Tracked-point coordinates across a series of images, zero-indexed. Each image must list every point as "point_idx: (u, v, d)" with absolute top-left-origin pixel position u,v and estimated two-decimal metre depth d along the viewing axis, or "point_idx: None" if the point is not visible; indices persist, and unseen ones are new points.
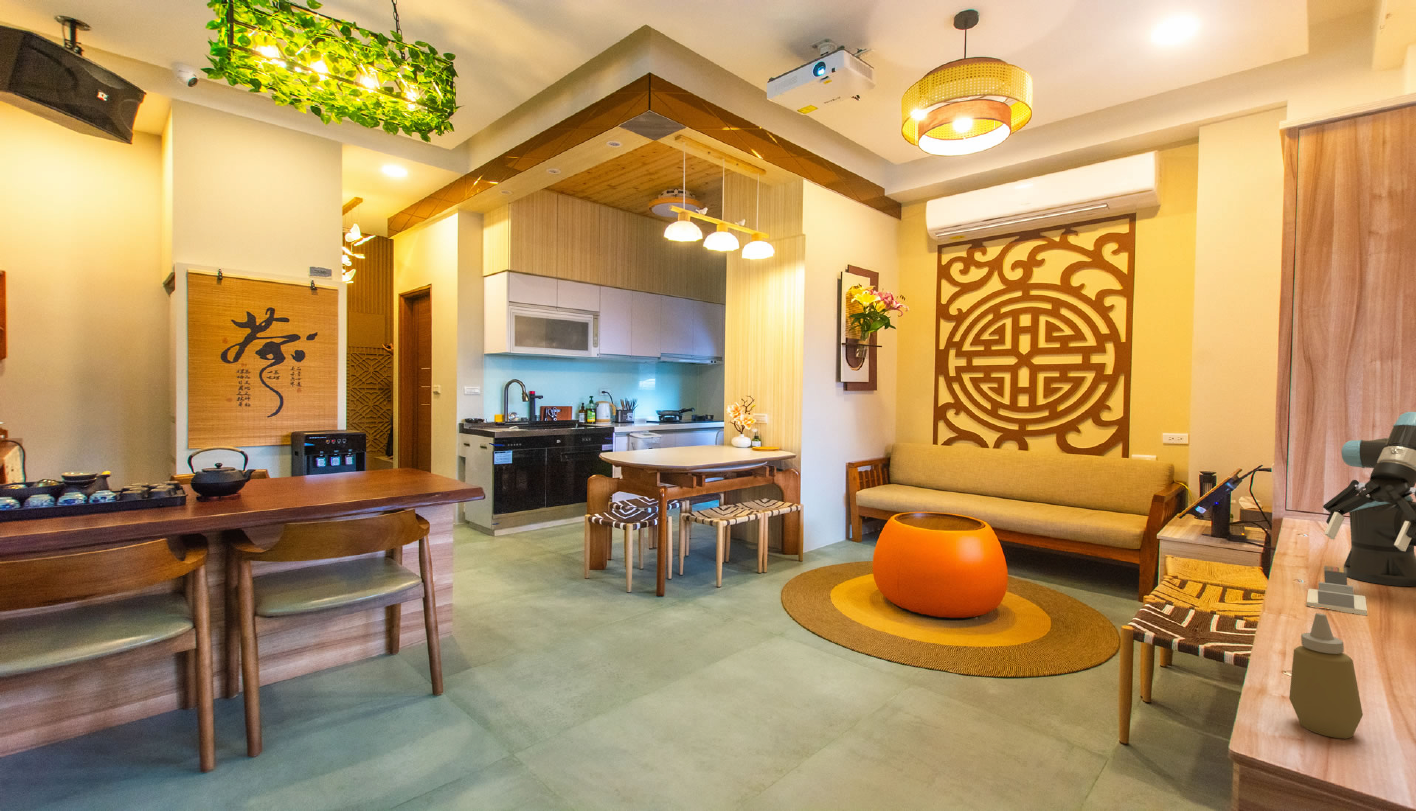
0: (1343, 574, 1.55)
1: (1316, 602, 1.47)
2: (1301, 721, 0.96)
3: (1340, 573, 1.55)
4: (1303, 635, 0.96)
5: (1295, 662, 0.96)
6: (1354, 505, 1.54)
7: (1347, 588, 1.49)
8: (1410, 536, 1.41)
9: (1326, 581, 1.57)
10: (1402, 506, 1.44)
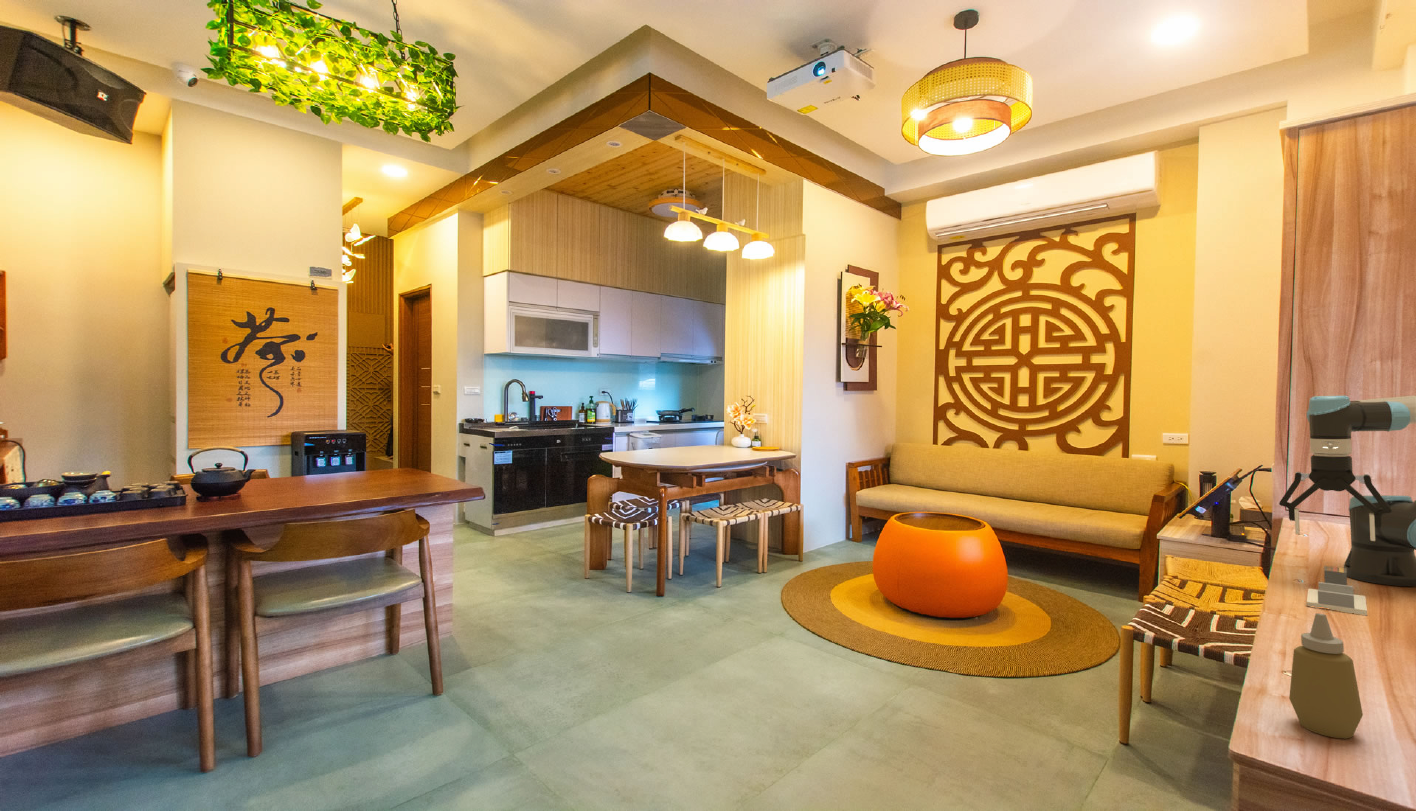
0: (1343, 574, 1.55)
1: (1316, 602, 1.47)
2: (1301, 721, 0.96)
3: (1340, 573, 1.55)
4: (1303, 635, 0.96)
5: (1295, 662, 0.96)
6: (1306, 497, 1.61)
7: (1347, 588, 1.49)
8: None
9: (1326, 581, 1.57)
10: (1359, 499, 1.54)
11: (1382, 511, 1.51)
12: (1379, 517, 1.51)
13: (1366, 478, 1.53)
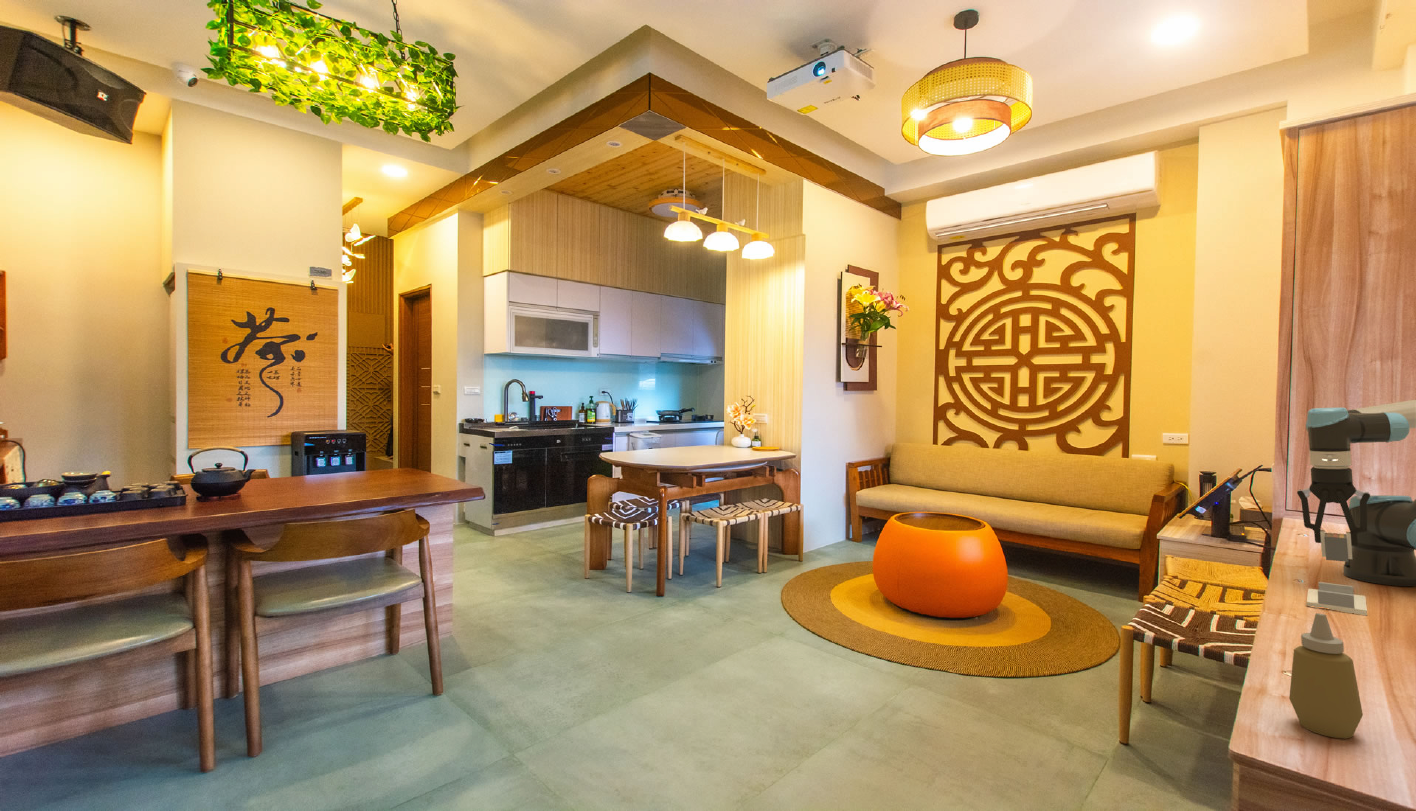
0: (1343, 539, 1.55)
1: (1316, 602, 1.47)
2: (1301, 721, 0.96)
3: (1340, 538, 1.55)
4: (1303, 635, 0.96)
5: (1295, 662, 0.96)
6: (1323, 514, 1.59)
7: (1347, 588, 1.49)
8: None
9: (1327, 547, 1.57)
10: (1346, 514, 1.55)
11: (1358, 530, 1.54)
12: (1355, 536, 1.55)
13: (1365, 496, 1.53)
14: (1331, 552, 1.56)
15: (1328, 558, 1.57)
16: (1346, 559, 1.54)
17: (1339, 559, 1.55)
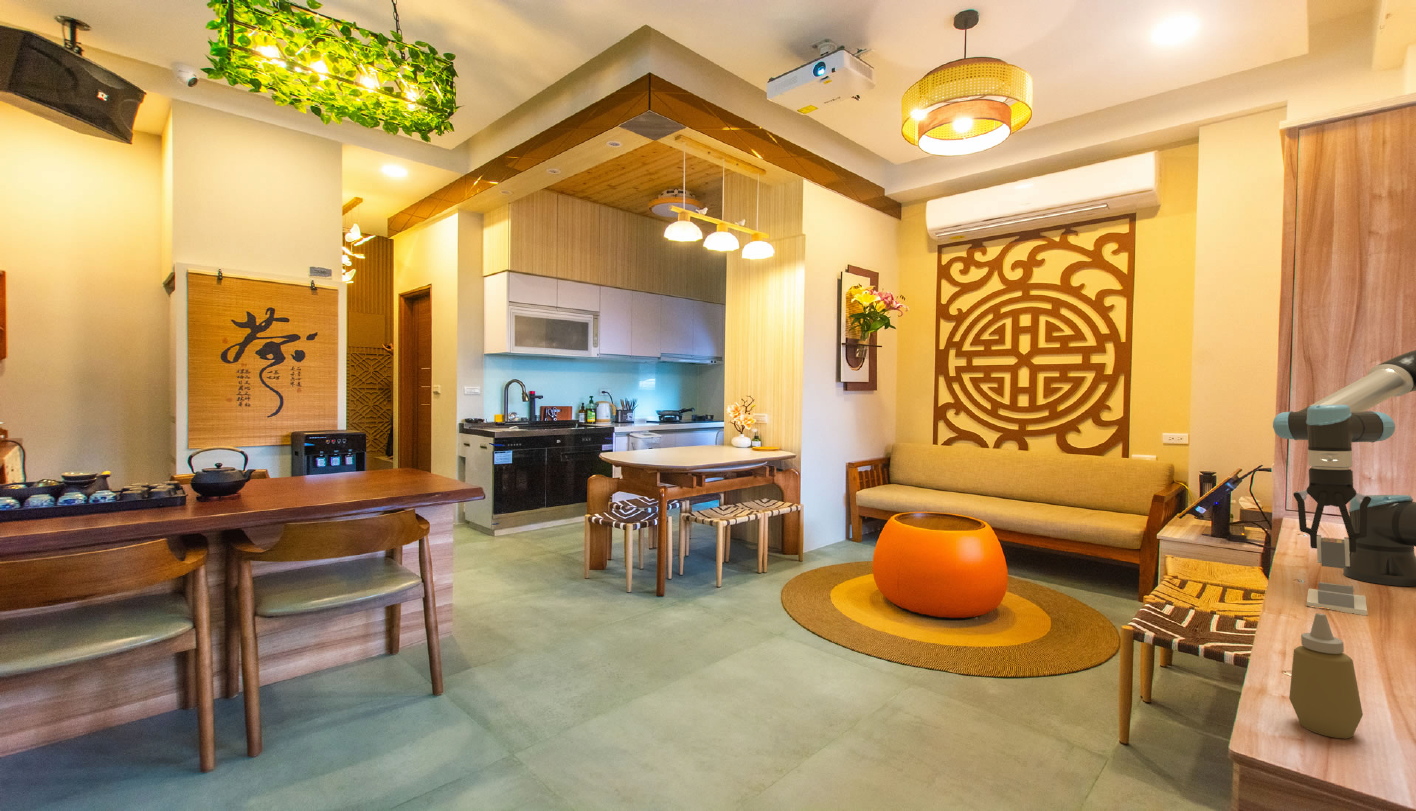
0: (1341, 544, 1.45)
1: (1316, 602, 1.47)
2: (1301, 721, 0.96)
3: (1338, 543, 1.45)
4: (1303, 635, 0.96)
5: (1295, 662, 0.96)
6: (1320, 518, 1.49)
7: (1347, 588, 1.49)
8: None
9: (1323, 552, 1.47)
10: (1344, 518, 1.46)
11: (1357, 535, 1.45)
12: (1354, 542, 1.45)
13: (1366, 499, 1.43)
14: (1328, 558, 1.46)
15: (1324, 564, 1.47)
16: (1343, 566, 1.45)
17: (1336, 565, 1.45)
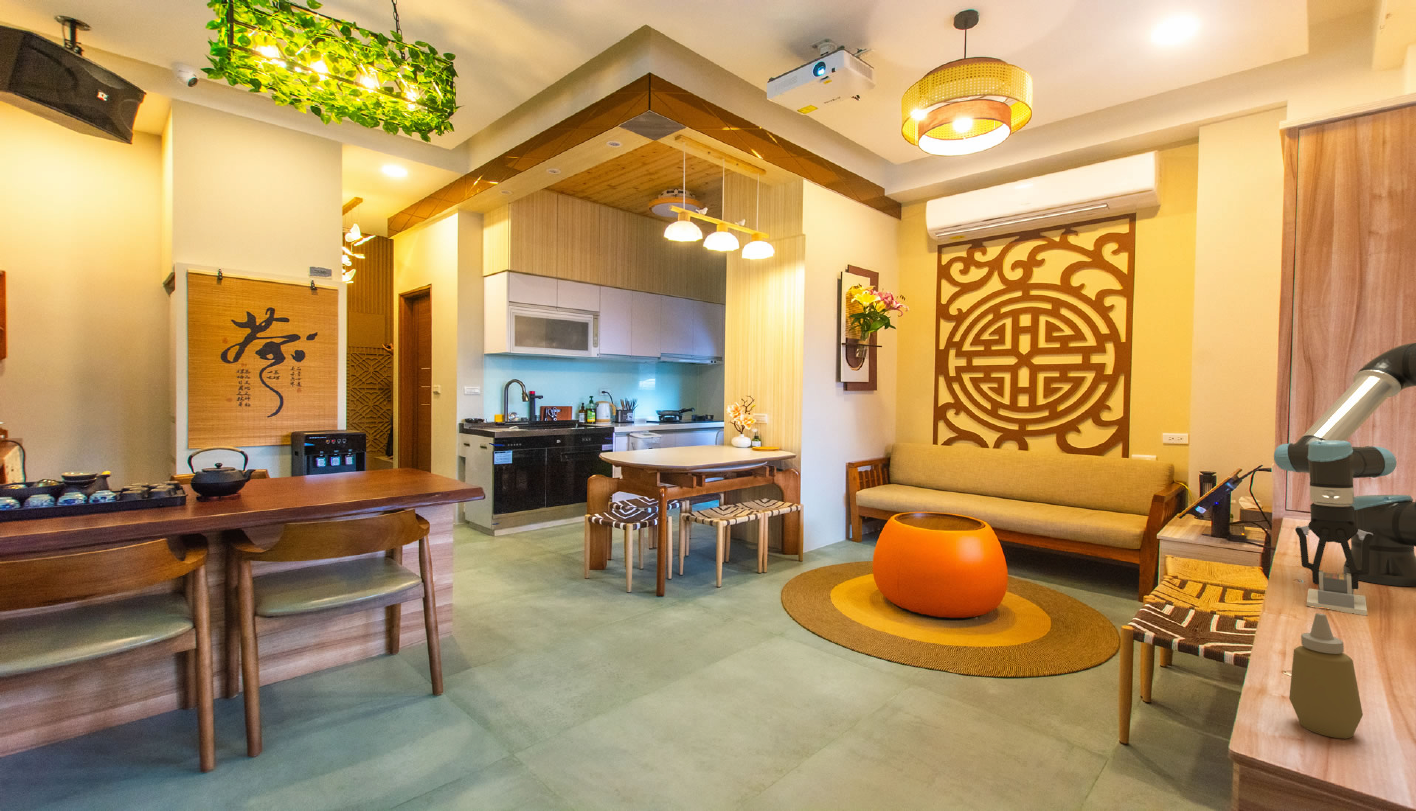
0: (1343, 581, 1.45)
1: (1316, 602, 1.47)
2: (1301, 721, 0.96)
3: (1340, 580, 1.45)
4: (1303, 635, 0.96)
5: (1295, 662, 0.96)
6: (1322, 554, 1.49)
7: None
8: None
9: (1325, 589, 1.47)
10: (1346, 555, 1.46)
11: (1359, 572, 1.44)
12: (1356, 578, 1.45)
13: (1368, 536, 1.43)
14: None
15: None
16: None
17: None
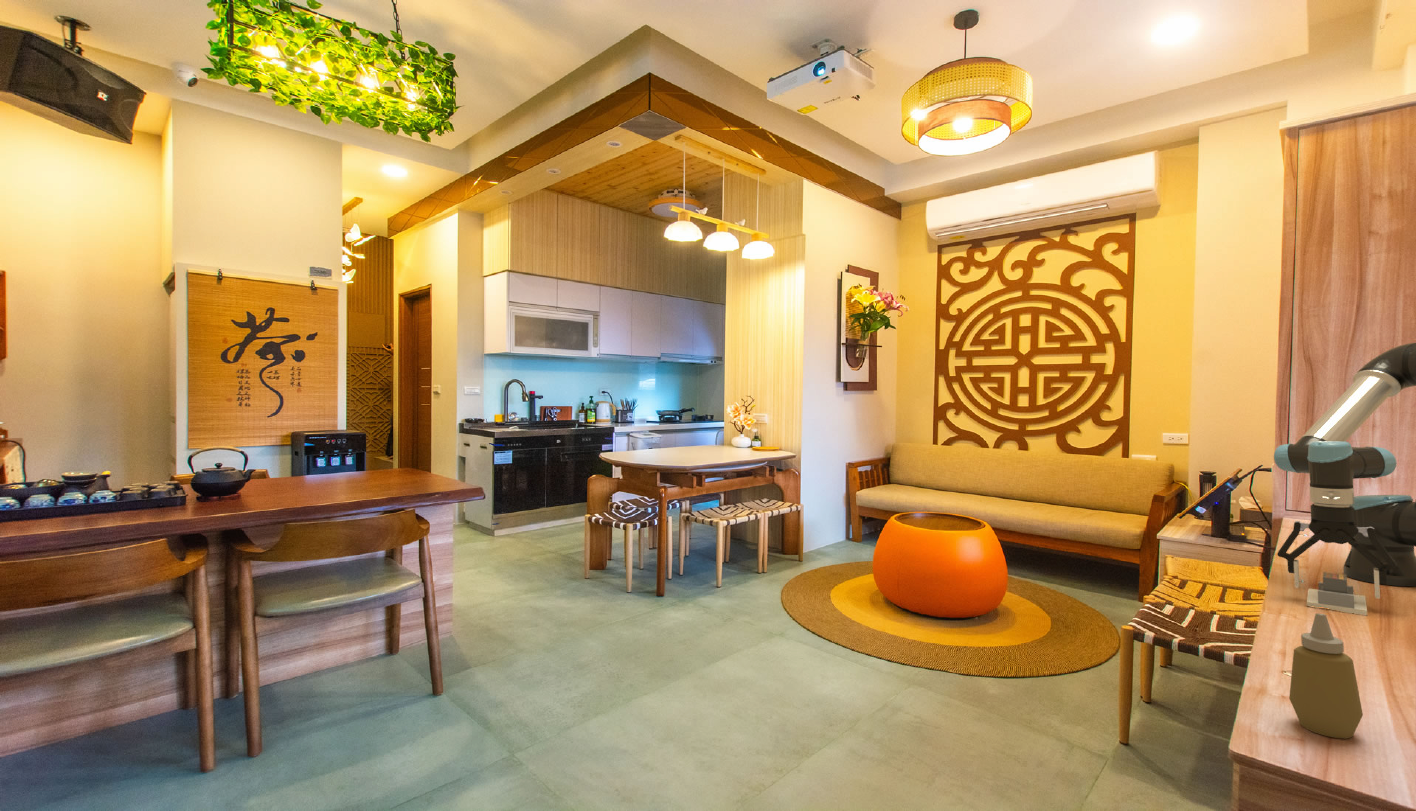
0: (1343, 581, 1.45)
1: (1316, 602, 1.47)
2: (1301, 721, 0.96)
3: (1340, 580, 1.45)
4: (1303, 635, 0.96)
5: (1295, 662, 0.96)
6: None
7: (1347, 588, 1.49)
8: None
9: (1325, 589, 1.47)
10: (1362, 553, 1.44)
11: (1387, 567, 1.41)
12: (1384, 573, 1.42)
13: (1370, 531, 1.43)
14: None
15: None
16: None
17: None
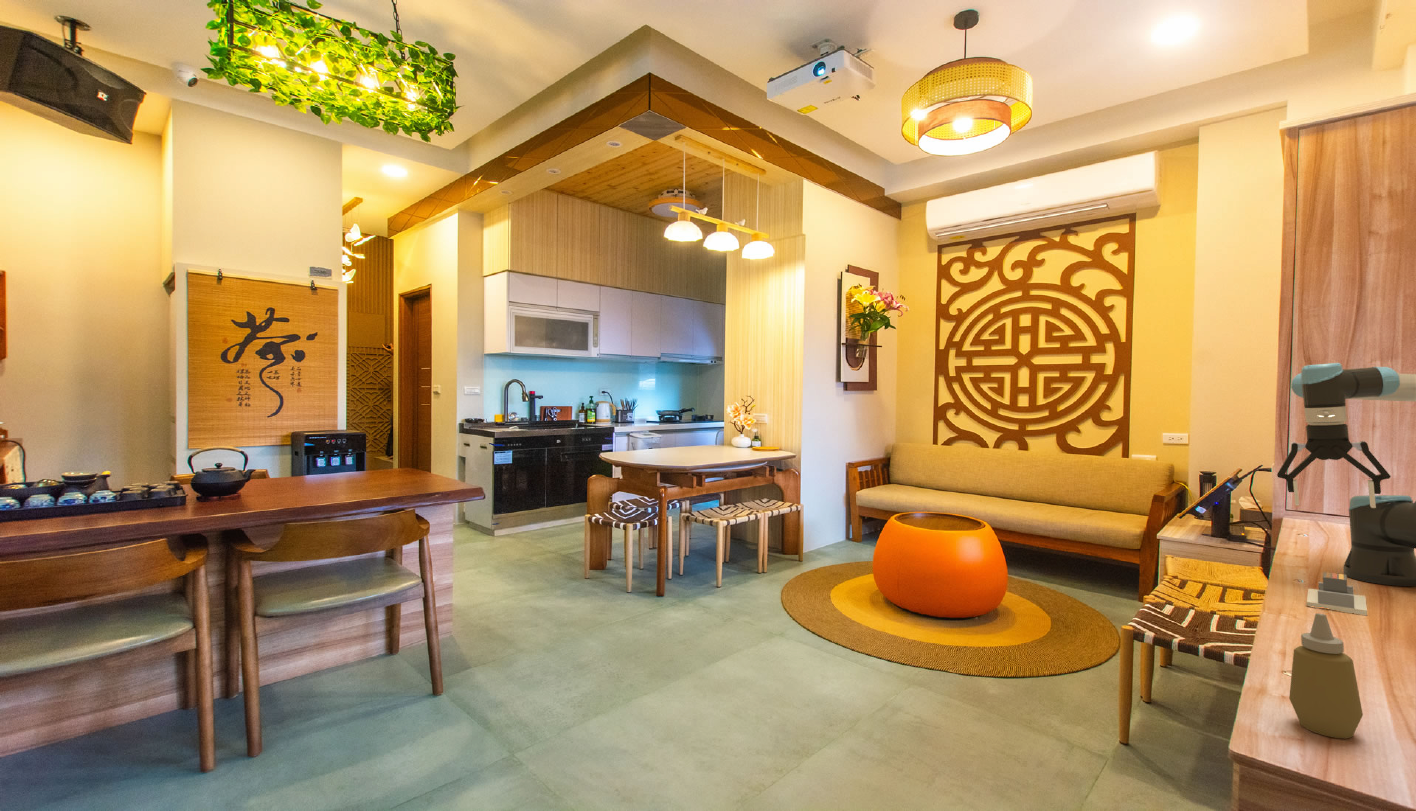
0: (1343, 581, 1.45)
1: (1316, 602, 1.47)
2: (1301, 721, 0.96)
3: (1340, 580, 1.45)
4: (1303, 635, 0.96)
5: (1295, 662, 0.96)
6: None
7: (1347, 588, 1.49)
8: None
9: (1325, 589, 1.47)
10: (1357, 466, 1.52)
11: (1381, 477, 1.50)
12: (1378, 483, 1.50)
13: (1363, 445, 1.51)
14: None
15: None
16: None
17: None
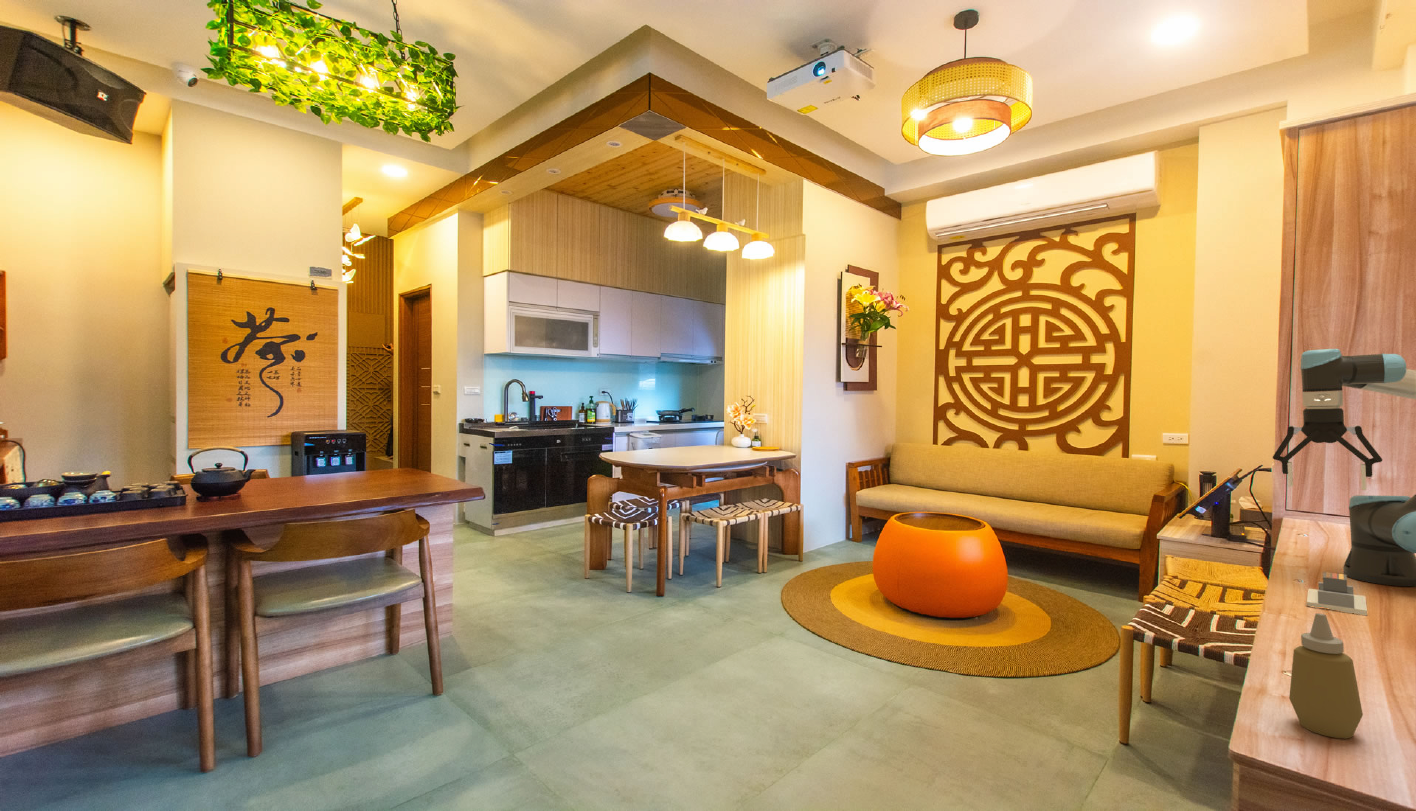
0: (1343, 581, 1.45)
1: (1316, 602, 1.47)
2: (1301, 721, 0.96)
3: (1340, 580, 1.45)
4: (1303, 635, 0.96)
5: (1295, 662, 0.96)
6: (1299, 450, 1.64)
7: (1347, 588, 1.49)
8: (1368, 476, 1.55)
9: (1325, 589, 1.47)
10: (1350, 449, 1.56)
11: (1373, 461, 1.54)
12: (1370, 467, 1.54)
13: (1357, 429, 1.55)
14: None
15: None
16: None
17: None
